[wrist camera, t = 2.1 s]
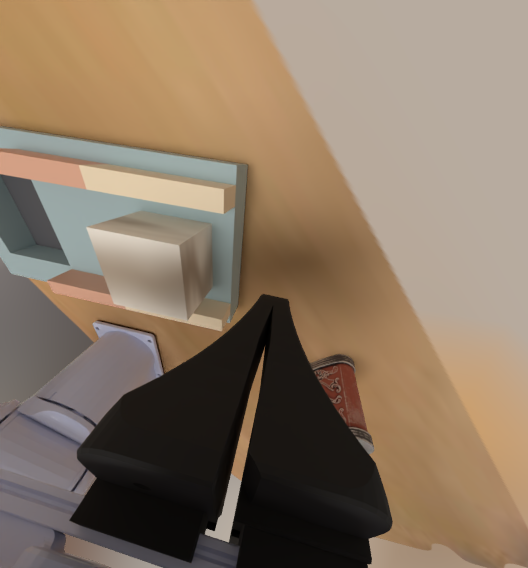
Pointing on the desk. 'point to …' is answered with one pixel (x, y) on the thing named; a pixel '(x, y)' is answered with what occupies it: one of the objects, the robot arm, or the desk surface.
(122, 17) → the desk surface
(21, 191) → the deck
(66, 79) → the desk surface
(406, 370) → the desk surface
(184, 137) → the desk surface
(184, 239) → the block
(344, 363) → the lighter
